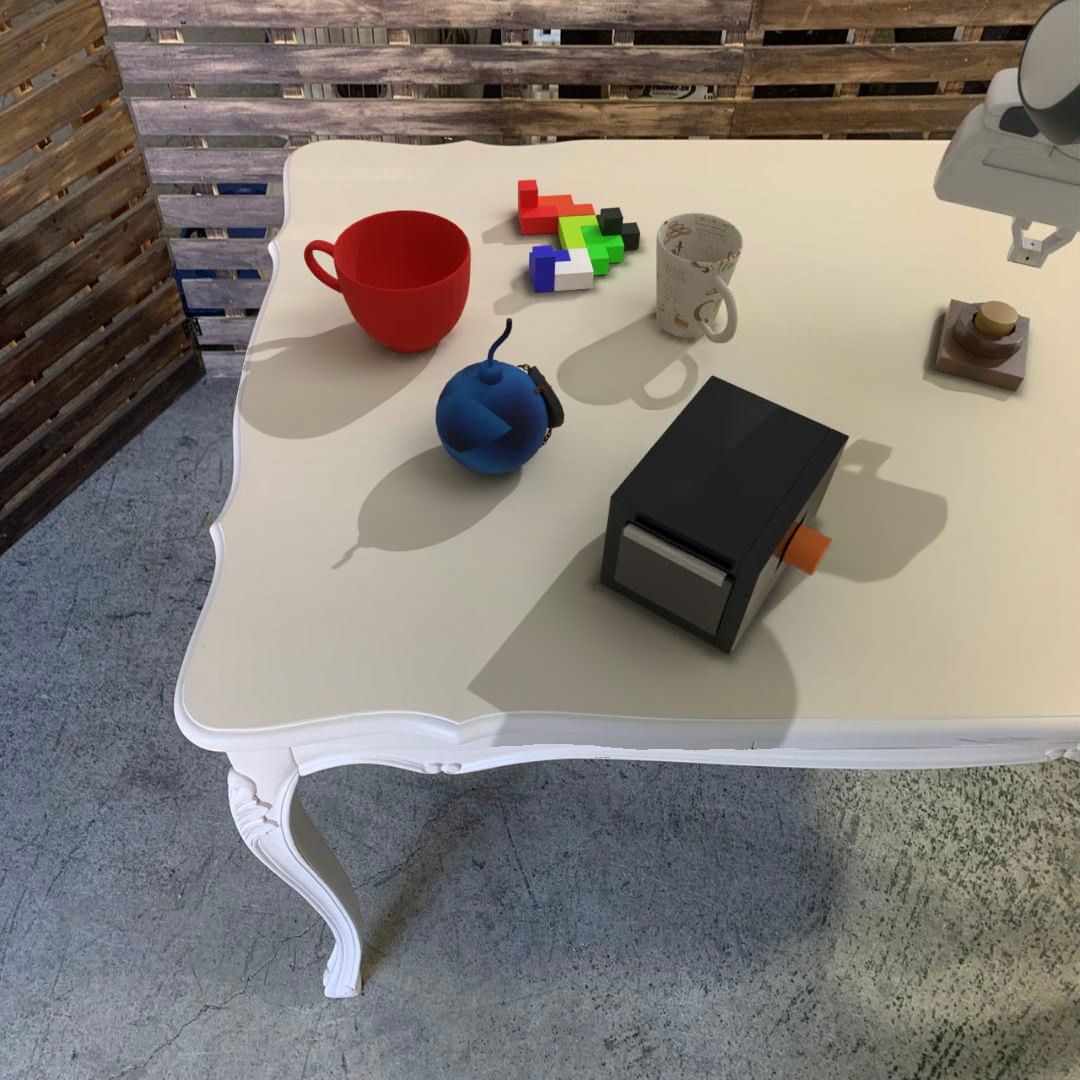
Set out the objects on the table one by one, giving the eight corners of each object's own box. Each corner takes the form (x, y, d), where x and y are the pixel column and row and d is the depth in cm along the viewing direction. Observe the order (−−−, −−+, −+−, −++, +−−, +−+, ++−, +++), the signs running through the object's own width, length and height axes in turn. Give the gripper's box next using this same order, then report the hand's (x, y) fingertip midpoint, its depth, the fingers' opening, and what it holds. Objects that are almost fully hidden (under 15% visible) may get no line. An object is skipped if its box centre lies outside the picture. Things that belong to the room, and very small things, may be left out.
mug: (696, 287, 98) (713, 204, 90) (762, 357, 91) (786, 274, 84) (630, 307, 96) (641, 224, 88) (693, 380, 89) (711, 298, 81)
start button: (1011, 320, 91) (1019, 305, 90) (1009, 341, 89) (1017, 327, 88) (975, 311, 92) (982, 297, 91) (972, 332, 90) (979, 318, 88)
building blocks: (650, 284, 98) (655, 250, 95) (534, 292, 97) (534, 258, 94) (623, 207, 107) (627, 174, 104) (516, 214, 106) (517, 180, 103)
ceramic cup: (342, 277, 98) (327, 193, 90) (490, 306, 95) (488, 222, 88) (291, 352, 90) (269, 268, 82) (450, 386, 88) (443, 302, 80)
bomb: (575, 471, 81) (586, 342, 69) (465, 511, 78) (456, 382, 66) (528, 403, 87) (530, 271, 75) (423, 437, 84) (408, 306, 72)
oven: (812, 524, 78) (849, 435, 70) (722, 666, 69) (752, 585, 61) (691, 465, 82) (712, 374, 73) (591, 592, 73) (601, 506, 65)
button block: (1022, 330, 95) (1038, 303, 92) (1016, 390, 89) (1032, 364, 86) (945, 311, 97) (958, 284, 94) (934, 369, 91) (947, 342, 88)
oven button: (824, 556, 71) (836, 531, 68) (807, 583, 69) (819, 558, 66) (795, 541, 71) (805, 516, 69) (778, 568, 70) (788, 543, 67)
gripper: (1245, 121, 70) (1144, 270, 81) (976, 67, 74) (915, 216, 85) (1253, 161, 66) (1145, 311, 78) (970, 102, 70) (906, 253, 81)
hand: (1023, 261), depth 81 cm, fingers closed
